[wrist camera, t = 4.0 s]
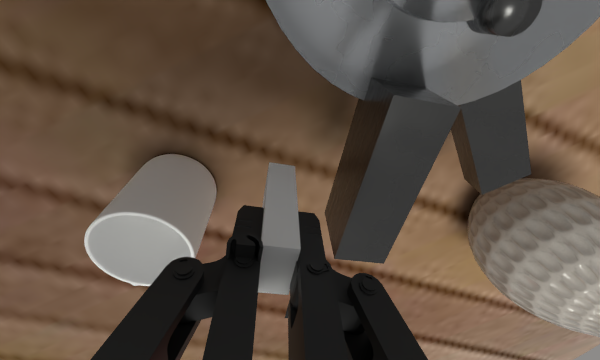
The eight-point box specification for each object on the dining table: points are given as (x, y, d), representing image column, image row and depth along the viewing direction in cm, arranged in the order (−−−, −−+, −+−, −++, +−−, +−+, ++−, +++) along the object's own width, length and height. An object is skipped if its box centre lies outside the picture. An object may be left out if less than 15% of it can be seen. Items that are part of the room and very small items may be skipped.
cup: (228, 169, 30) (207, 234, 22) (196, 243, 36) (168, 318, 27) (149, 138, 28) (90, 197, 19) (127, 222, 33) (73, 297, 25)
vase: (575, 163, 32) (803, 283, 18) (514, 243, 39) (648, 377, 25) (475, 150, 31) (641, 272, 17) (429, 236, 37) (520, 376, 23)
